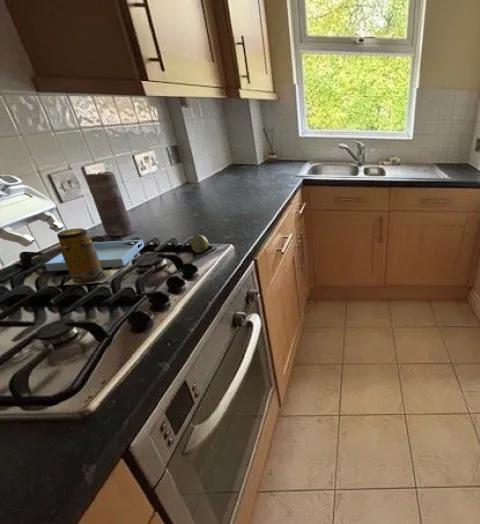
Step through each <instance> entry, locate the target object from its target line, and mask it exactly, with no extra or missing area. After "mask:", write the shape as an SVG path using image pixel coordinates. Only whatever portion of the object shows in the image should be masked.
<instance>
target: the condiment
mask: <svg viewBox="0 0 480 524" xmlns="http://www.w3.org/2000/svg"><path fill="white" fill-rule="evenodd" d="M56 235H57V239H58V242H59V250H60V253H62V255H63V258H64V261H65V263H66V265H67V268H68V270H67V271H68V273H69V276H70V277H71V279H69V280H68V281H65V283H63V284H62V286H73V285H74V286H75V285H76V286H77V285H85V284H98V283H99V284H101V283H104V282H106V281H108V280H109V279H110V278H111V277H112V276H114V275H115V274H116V273H117V272H118V271H119V269H105V270H104V269H103V268H102V267H101V264H100V261H99V259H98V256H97V253H96V250H95V247H94V245H93V240H92V239H91V238H90V235H89V234H88V231H87V230H86V229H85V228H80V227H79V228H78V227H77V228H69V229H65V230H60V231H58V232H57V234H56ZM102 271H103V272H102ZM100 272H102V273H101V274H99V275H97V276H95V277H92V276H94V275H96V274H98V273H100ZM90 277H92V278H90Z"/></svg>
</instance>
